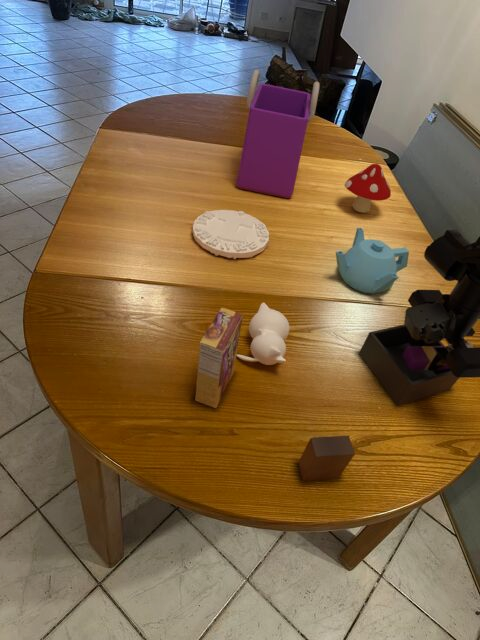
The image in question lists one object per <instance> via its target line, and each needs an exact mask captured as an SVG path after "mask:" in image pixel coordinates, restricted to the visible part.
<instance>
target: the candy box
mask: <svg viewBox="0 0 480 640" xmlns="http://www.w3.org/2000/svg"><path fill="white" fill-rule="evenodd" d="M243 316H244V315H243V314H242V313H240V312H237V311H234V310H231V309H229V308H225V307H220V308H219V310H218V311H217V313H216V314H215V317H214V318H213V320H212V321H211V323H210V325H209V326H208V328H207V329H206V331H205V332H204V334H203V336H202V338H201V339H200V341H199V345H198V360H197V372H196V373H197V374H196V383H195V399H194V401H195V402H198V403H200V404H203V405H205V406H208V407H211V408H213V409H217V407H218V405H219V403H220V402H221V399H222V397H223V395H224V393H225V391H226V389H227V386H228V384H229V383H230V381H231V379H232V377H233V375H234V373H235V366H236V360H237V356H236V355H237V353H238V347H239V341H240V334H241V329H242V322H243Z"/></svg>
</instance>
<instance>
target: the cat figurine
mask: <svg viewBox="0 0 480 640" xmlns="http://www.w3.org/2000/svg"><path fill="white" fill-rule="evenodd" d="M248 325H249V326H248V331H249V336H250V337H251V339H252V341H251V342H250V347H249V348H250V353H251V355H252V356H253V357H250V356H247V355H242V354H236V358H238V359H239V360H242V361H245V362H253V363H254V362H255V363H256V362H259V363H260V364H263V365H266V366H273V365H276V364H278V363H279V364H286V362H287V359H285V358H284V357H285V356H286V353H287V345H286V342H285V341H286V340H287V338H288V337H289V334H290V329H291V328H290V322H289V321H288V319H287V317H286V316H285V315H284V314H283V313H282V312H281V311H278V310H277V309H273V308H270V307H269V306H268V305H267V304H266V303H265V302H262V303H260V305H259V308H258V311H257V312H256V313H255V315H253V317H252V318H251V319H250V322H249V324H248Z"/></svg>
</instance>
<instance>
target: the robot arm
mask: <svg viewBox="0 0 480 640" xmlns="http://www.w3.org/2000/svg"><path fill="white" fill-rule="evenodd" d="M423 257H424V259H425V260H426V262H428V263H429V265H431V267H432V268H433V269H434V270H435V271H436V272H437V273H438V274H439V275H440V276H441V277H442V278H443V279H444V280H445V281H447V282H453V281H457V282H456V284H455V285H454V287H453V288H452V290H451V291H450V293H443V292H441V290H440V289H416V290H414V291H412V292H411V294H410V296H409V297H408V298H407V302H408V303H409V305H410V306H409V307H407V308H406V309H405V312H404V313H405V314H404V322H403V325H404V324H405V326H406V327H407V329H408V331H409V332H410V335H411V337H412V338H413V339H415V340H420V345H419V346H433V345H434V344H435V343H436V342H439V341H441V342H442V340H444V341H445V342H446V344H447V345H445V346H446V347H435V350H436V351H437V354H436V356H435V357H434V359H433V360H432V362H431V363H430V365H429V367H428V370H429V371H433V370H436V369H438V368H440V367H443V366H445V365H448V367H449V369H450V370H451V372H452V373H453V375H454V376H456V377H458V378H459V379H462V378H463V379H465V378H480V347H474V346H473V344H472V342H470V341H468V340H466V339H465V337H473V336H474V335H475V333H476V331H475V329H474V328H473V327H474V326H475V325H476V323H477V322H478V321H479V320H480V236H478V238H477V239H476V241H475V242H472V243H470V242H469V241H468V240H467V239H466V238H465V237H464V236H463V234H462V233H461V232H460V231H459V230H457V229H447V230H445V232H444V234H443V235H441V236H438V237H437V238H436V239H435V240H433V241H432V242H431V243H430V244H429V245H427V246H426V248H425V250H424V254H423Z"/></svg>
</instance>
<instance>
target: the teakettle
mask: <svg viewBox="0 0 480 640" xmlns="http://www.w3.org/2000/svg"><path fill="white" fill-rule="evenodd" d="M364 232H365V230H364V229H363V228H362V227H357V228H356V231H355V235H354V238H353V241H352V244H351V247H350V248H348V249H347V250H346V252H343V250H338V251H335V259H336V267H337V270H338V272H339V274H340V277H341V279H342V280H343V281H344V282H345V284H346V285H348V286H349V287H350V288H352V289H354V290H355V291H358V292H360V293H365V294H373V295H374V294H379V293H383V292H385V291H387V290H389V289H391V288H392V287H393V286H394V284H395V282H396V281H397V280H398V279H399V276H398V274H397V273H398V272H400V271H402V270H404V269H405V268H407V267H408V261H409V254H410V251H409V250H408V248H407V247H406V246H405V247H397V248H392V247H390V246H389V245H388V244H386V243H385V242H384V241H382V240H379V239H369V238H368V239H365V233H364ZM396 258H397V259H396Z"/></svg>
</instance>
